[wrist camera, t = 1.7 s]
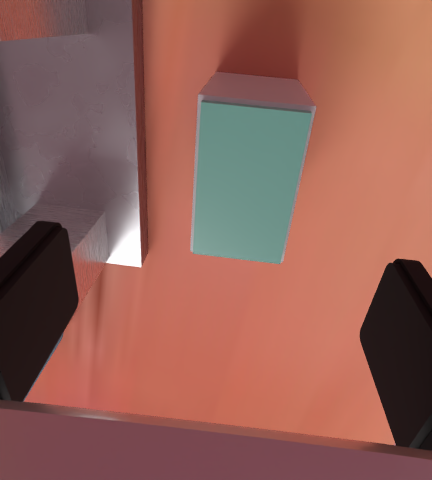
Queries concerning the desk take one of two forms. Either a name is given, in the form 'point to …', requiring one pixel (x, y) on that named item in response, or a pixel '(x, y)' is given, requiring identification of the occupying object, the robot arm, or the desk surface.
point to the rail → (74, 128)
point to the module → (248, 165)
